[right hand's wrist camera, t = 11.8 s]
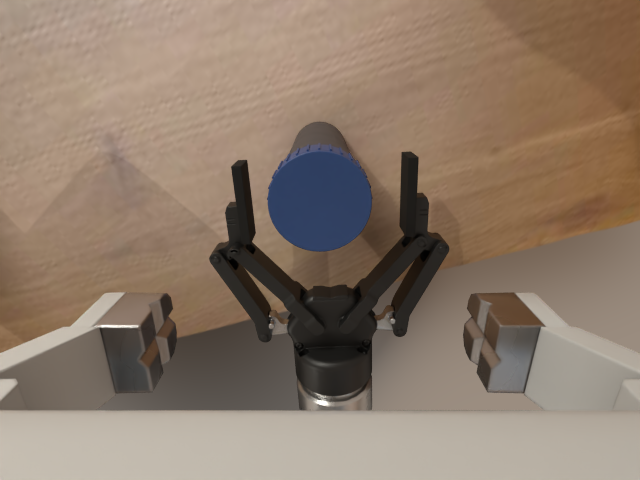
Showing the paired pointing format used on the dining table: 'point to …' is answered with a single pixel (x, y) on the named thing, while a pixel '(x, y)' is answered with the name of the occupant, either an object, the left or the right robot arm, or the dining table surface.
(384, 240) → the dining table surface
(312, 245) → the lid
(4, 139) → the dining table surface
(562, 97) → the dining table surface
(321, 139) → the gray bottle
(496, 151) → the dining table surface
